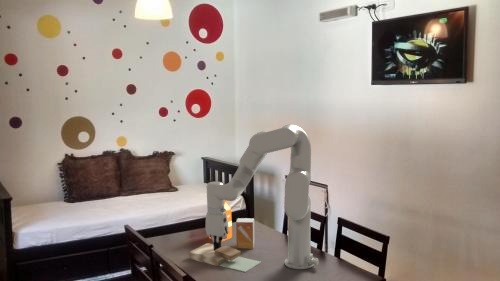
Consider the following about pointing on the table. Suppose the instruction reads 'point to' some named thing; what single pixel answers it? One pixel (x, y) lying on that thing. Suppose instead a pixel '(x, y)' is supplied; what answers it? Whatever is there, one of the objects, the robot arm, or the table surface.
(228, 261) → the mat
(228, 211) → the orange juice
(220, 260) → the deck
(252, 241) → the small box
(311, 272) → the table surface
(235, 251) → the tile
